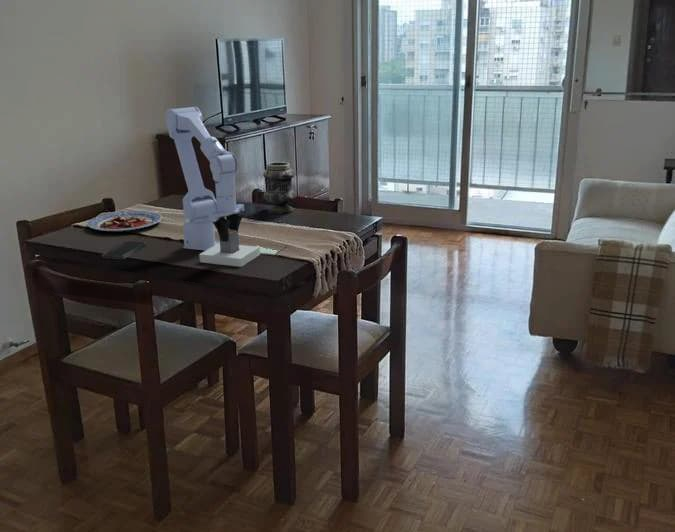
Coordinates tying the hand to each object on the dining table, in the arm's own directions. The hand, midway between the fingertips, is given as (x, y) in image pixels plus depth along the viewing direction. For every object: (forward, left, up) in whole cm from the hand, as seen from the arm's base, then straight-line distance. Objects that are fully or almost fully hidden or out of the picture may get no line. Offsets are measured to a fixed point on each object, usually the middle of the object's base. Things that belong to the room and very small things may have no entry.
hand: (229, 239), depth 210 cm
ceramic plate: (-55, +22, -7) cm, 60 cm away
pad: (+7, +11, -6) cm, 15 cm away
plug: (0, 0, -4) cm, 4 cm away
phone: (-36, -4, -7) cm, 37 cm away
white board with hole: (0, 0, -6) cm, 6 cm away
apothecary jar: (-11, +58, -6) cm, 60 cm away
